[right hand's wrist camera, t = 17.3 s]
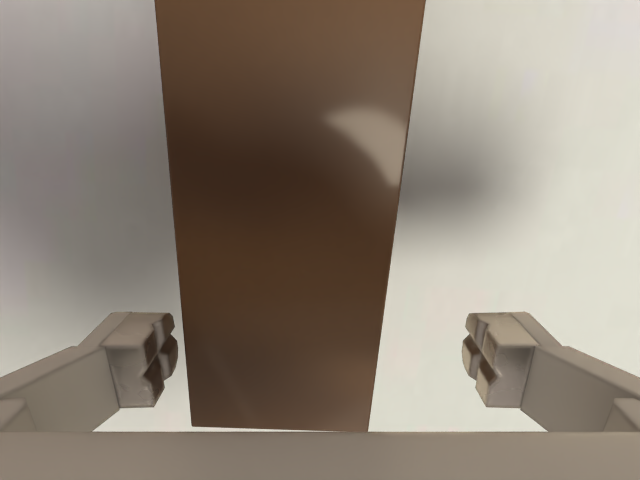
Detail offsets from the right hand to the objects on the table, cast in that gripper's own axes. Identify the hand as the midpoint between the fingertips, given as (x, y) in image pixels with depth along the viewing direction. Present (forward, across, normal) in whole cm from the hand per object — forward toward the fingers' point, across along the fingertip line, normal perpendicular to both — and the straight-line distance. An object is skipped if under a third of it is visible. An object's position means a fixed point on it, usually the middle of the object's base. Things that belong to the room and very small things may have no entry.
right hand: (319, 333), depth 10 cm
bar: (+8, +1, -10) cm, 12 cm away
